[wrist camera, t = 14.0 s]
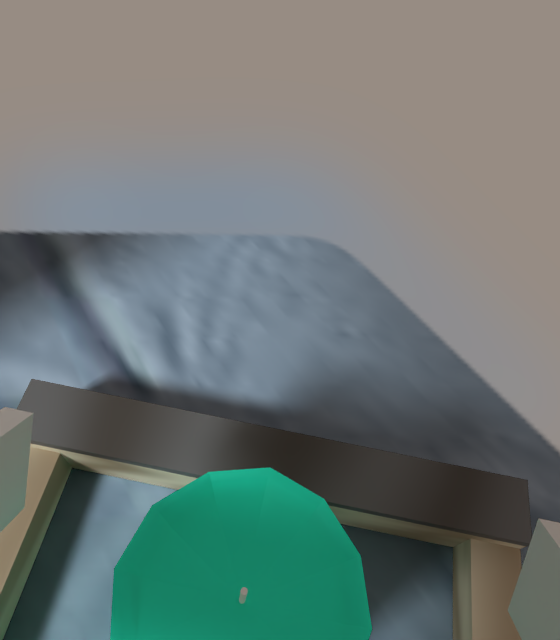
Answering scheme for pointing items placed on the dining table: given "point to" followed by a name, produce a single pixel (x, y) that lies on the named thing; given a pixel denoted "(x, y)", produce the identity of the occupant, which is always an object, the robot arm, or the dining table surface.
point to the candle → (240, 566)
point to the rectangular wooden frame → (291, 461)
